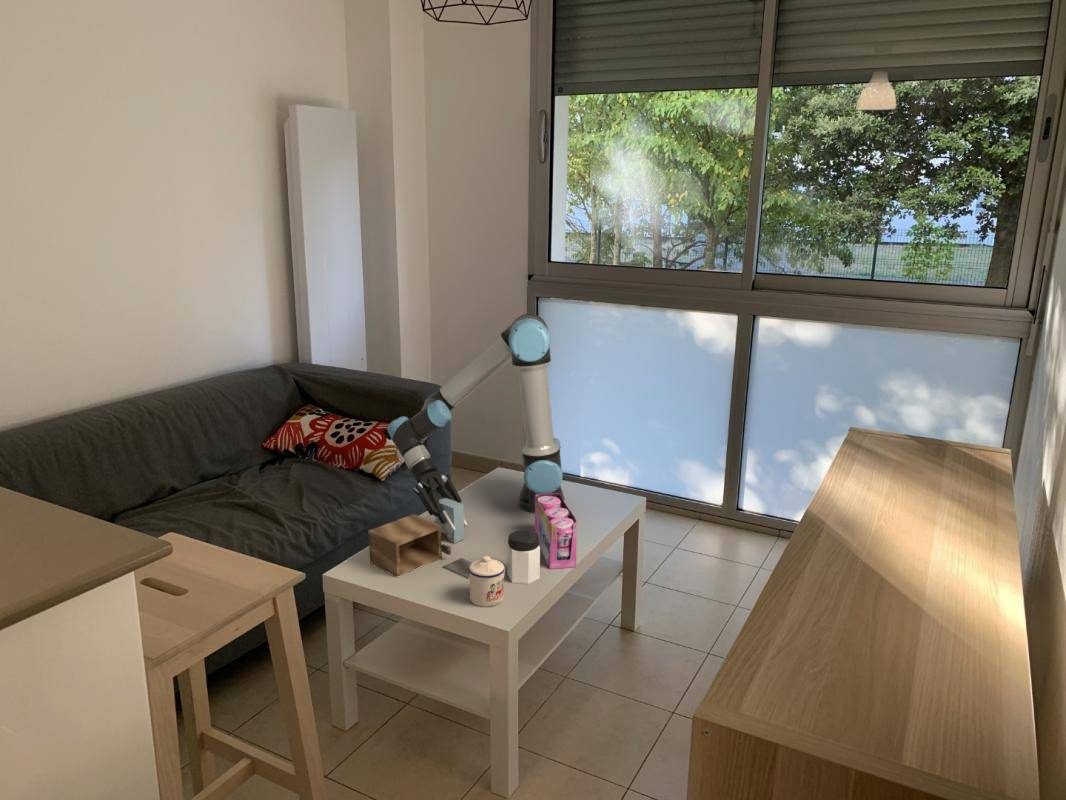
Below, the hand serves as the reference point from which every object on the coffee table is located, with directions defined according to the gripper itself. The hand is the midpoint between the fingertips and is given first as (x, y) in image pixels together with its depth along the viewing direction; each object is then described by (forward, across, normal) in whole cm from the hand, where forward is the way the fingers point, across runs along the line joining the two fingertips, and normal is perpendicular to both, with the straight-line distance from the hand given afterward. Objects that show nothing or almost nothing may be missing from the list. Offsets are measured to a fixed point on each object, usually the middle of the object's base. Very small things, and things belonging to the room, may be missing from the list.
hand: (458, 529), depth 243 cm
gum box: (+21, -14, +15) cm, 29 cm away
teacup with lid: (+25, +18, +19) cm, 35 cm away
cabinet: (+7, +17, +1) cm, 19 cm away
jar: (+24, +4, +18) cm, 30 cm away
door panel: (0, 0, -5) cm, 5 cm away
